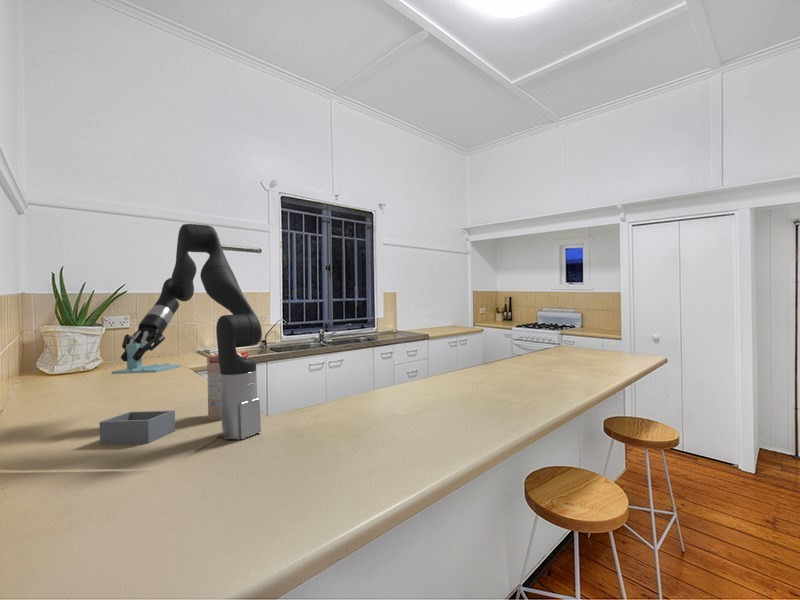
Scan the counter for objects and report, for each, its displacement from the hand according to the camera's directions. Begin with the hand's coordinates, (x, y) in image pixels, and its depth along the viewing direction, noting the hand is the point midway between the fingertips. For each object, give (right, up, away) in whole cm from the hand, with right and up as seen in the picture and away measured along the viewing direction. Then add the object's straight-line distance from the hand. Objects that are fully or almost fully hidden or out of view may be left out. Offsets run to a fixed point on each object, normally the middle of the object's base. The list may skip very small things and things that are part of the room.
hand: (129, 359), depth 119 cm
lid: (+5, -4, +1) cm, 6 cm away
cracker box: (+30, -20, +5) cm, 37 cm away
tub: (+14, -20, -16) cm, 29 cm away
